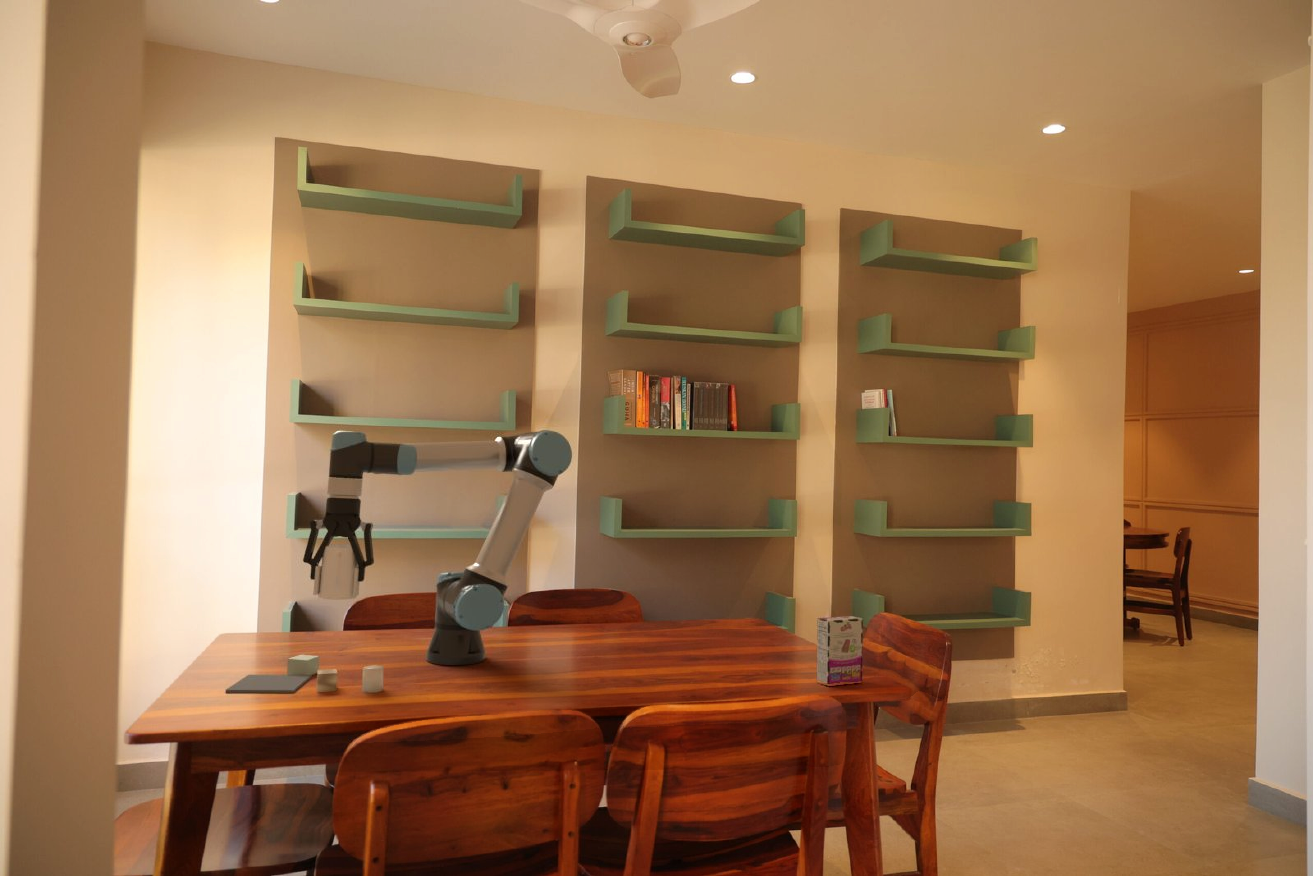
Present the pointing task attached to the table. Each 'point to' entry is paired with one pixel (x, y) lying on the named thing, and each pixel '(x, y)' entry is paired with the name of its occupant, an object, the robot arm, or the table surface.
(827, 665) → the candy bar box
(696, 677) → the table surface
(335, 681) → the maple block
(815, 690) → the table surface
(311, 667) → the sage block
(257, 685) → the coaster
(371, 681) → the beige rounded block
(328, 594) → the mug
